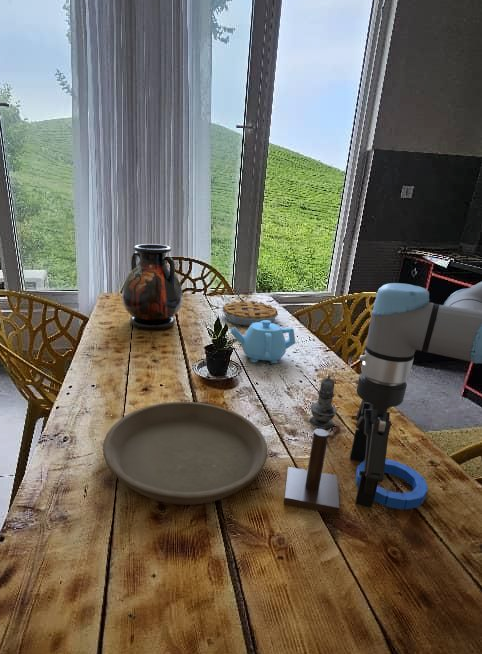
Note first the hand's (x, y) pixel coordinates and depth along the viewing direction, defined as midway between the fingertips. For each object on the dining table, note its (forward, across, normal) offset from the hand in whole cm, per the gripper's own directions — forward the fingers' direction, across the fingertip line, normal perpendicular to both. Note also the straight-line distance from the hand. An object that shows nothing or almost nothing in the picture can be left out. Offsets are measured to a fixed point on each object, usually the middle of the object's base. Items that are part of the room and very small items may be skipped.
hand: (359, 480), depth 82 cm
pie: (+1, -94, -34) cm, 100 cm away
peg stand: (0, +6, -9) cm, 11 cm away
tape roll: (0, 0, +5) cm, 5 cm away
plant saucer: (0, +3, -33) cm, 33 cm away
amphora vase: (+1, -74, -67) cm, 100 cm away
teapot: (+1, -55, -25) cm, 60 cm away
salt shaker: (0, -20, -7) cm, 21 cm away
